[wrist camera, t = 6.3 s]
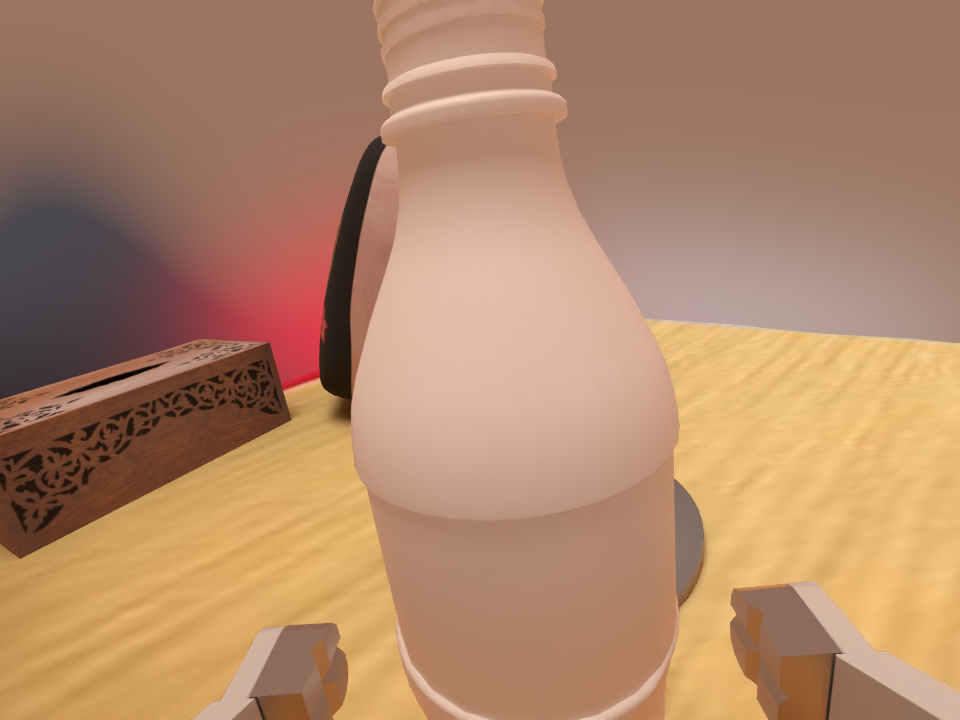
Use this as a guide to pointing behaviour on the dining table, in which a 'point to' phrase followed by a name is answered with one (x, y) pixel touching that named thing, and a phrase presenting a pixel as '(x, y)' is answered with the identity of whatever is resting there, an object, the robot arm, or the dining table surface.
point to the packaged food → (358, 266)
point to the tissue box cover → (127, 433)
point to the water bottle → (510, 397)
